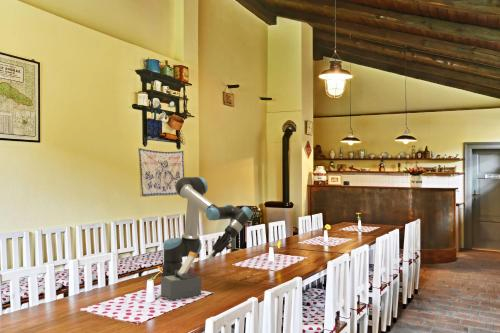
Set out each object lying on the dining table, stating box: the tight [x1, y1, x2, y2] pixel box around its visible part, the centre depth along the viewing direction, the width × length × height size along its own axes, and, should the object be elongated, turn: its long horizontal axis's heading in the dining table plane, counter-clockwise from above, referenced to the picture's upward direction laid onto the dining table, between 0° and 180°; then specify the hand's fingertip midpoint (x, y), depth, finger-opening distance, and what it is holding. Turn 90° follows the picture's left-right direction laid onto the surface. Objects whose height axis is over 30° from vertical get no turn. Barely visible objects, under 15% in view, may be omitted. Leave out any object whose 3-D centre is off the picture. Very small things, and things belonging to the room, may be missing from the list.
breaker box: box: [160, 270, 202, 301], centre depth 246 cm, size 13×18×13 cm
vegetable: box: [187, 266, 198, 276], centre depth 267 cm, size 10×10×15 cm
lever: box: [177, 251, 198, 277], centre depth 248 cm, size 7×2×14 cm
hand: (208, 260), depth 255 cm, fingers closed
